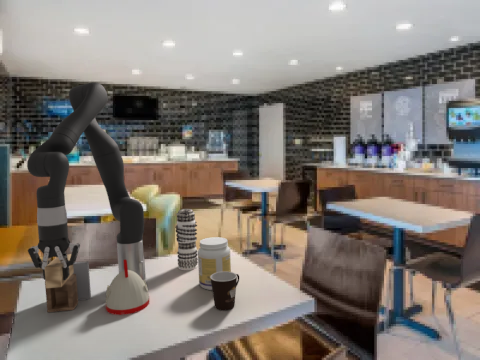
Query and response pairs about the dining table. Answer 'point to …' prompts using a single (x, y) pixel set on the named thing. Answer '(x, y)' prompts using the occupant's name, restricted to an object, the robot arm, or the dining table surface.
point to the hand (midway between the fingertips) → (56, 279)
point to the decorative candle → (186, 239)
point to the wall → (82, 279)
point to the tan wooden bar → (56, 273)
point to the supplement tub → (212, 259)
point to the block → (62, 296)
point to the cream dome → (126, 293)
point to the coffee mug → (224, 289)
